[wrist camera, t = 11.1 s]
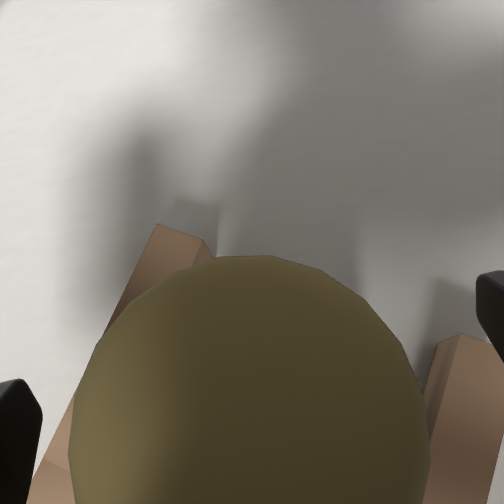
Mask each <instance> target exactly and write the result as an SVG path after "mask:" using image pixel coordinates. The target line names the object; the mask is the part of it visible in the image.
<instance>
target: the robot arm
mask: <svg viewBox="0 0 504 504" xmlns="http://www.w3.org/2000/svg"><path fill="white" fill-rule="evenodd" d="M476 315H477V318H478V321H479V323H480V325H481V326H482V328H483V330H484V331H485V333H486V335H487V336H488V338H489V340H490V342H491V343H492V345H493V347H494V348H495V350H496V352H497V353H498V355H499V357H500V358H501V360H502V362H503V363H504V271H501V270H498V271H493V272H489V273H484V274H480V275H479V276H478V277H477V279H476ZM42 420H43V414H42V410H41V407H40V405H39V403H38V402H37V400H36V398H35V397H34V395H33V393H32V391H31V390H30V388H29V386H28V384H27V383H26V382H25V381H24V380H23V379H14V380H9V381H5V382H1V383H0V504H26V502H27V499H28V495H29V490H30V486H31V481H32V475H33V470H34V464H35V459H36V454H37V448H38V443H39V437H40V432H41V426H42Z"/></svg>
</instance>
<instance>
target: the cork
mask: <svg viewBox="0 0 504 504" xmlns="http://www.w3.org/2000/svg"><path fill="white" fill-rule="evenodd" d="M67 455H68V461H69V467H70V473H71V479H72V485H73V492H74V498H75V504H422V503H423V498H424V494H425V489H426V484H427V479H428V475H429V470H430V465H431V458H430V448H429V438H428V428H427V418H426V408H425V399H424V397H423V394H422V392H421V389H420V387H419V385H418V382H417V380H416V377H415V375H414V373H413V370H412V368H411V365H410V363H409V361H408V358H407V356H406V353H405V351H404V349H403V346H402V344H401V343H400V341H399V340H398V339H397V338H396V337H395V335H394V334H393V333H392V332H391V331H390V329H389V328H388V327H387V326H386V324H385V323H384V322H383V321H382V320H381V318H380V317H379V316H378V315H377V314H376V312H375V311H374V310H373V309H372V307H371V306H370V305H369V304H368V303H367V301H366V300H365V299H363V298H362V297H360V296H359V295H357V294H356V293H354V292H353V291H351V290H350V289H348V288H347V287H345V286H344V285H342V284H341V283H339V282H337V281H336V280H334V279H333V278H331V277H330V276H328V275H327V274H325V273H324V272H322V271H321V270H318V269H315V268H311V267H308V266H304V265H301V264H298V263H294V262H291V261H287V260H284V259H280V258H277V257H274V256H229V257H218V258H215V259H212V260H209V261H206V262H203V263H200V264H196V265H193V266H190V267H187V268H184V269H181V270H178V271H175V272H172V273H171V274H169V275H168V276H167V277H165V278H164V279H162V280H161V281H159V282H158V283H157V284H155V285H154V286H152V287H151V288H149V289H148V290H147V291H145V292H144V293H142V294H141V295H139V296H138V297H137V298H135V299H134V300H132V301H131V302H130V303H129V304H128V305H127V306H126V308H125V309H124V310H123V311H122V313H121V314H120V315H119V316H118V318H117V319H116V320H115V321H114V323H113V324H112V325H111V326H110V328H109V329H108V330H107V331H106V333H105V334H104V335H103V336H102V338H101V339H100V340H99V341H98V343H97V344H96V346H95V349H94V351H93V353H92V356H91V358H90V360H89V363H88V365H87V368H86V370H85V372H84V375H83V377H82V379H81V382H80V384H79V387H78V389H77V391H76V394H75V397H74V405H73V413H72V421H71V429H70V437H69V446H68V454H67Z"/></svg>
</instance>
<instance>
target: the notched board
mask: <svg viewBox="0 0 504 504" xmlns="http://www.w3.org/2000/svg"><path fill="white" fill-rule="evenodd" d="M212 259H214V257H213V256H212V254H211V252H210V251H209V249H208V248H207V246H206V244H205V243H204V241H203V240H201V239H198V238H196V237H193V236H190V235H187V234H184V233H182V232H179V231H176V230H173V229H171V228H168V227H165V226H162V225H160V224H157V225H156V227H155V229H154V231H153V233H152V235H151V237H150V239H149V241H148V243H147V245H146V247H145V249H144V251H143V254H142V256H141V258H140V260H139V262H138V264H137V266H136V268H135V270H134V272H133V274H132V276H131V278H130V280H129V282H128V284H127V286H126V288H125V291H124V293H123V295H122V297H121V299H120V301H119V303H118V305H117V307H116V309H115V311H114V313H113V315H112V317H111V319H110V321H109V323H108V325H107V327H106V330H105V332H104V334H105V333H106V331H107V330H108V329H109V328H110V326H111V325H112V324H113V323H114V321H115V320H116V319H117V318H118V316H119V315H120V314H121V313H122V311H123V310H124V309H125V308H126V306H127V305H128V304H129V303H130V302H131V301H132V300H134V299H135V298H137V297H138V296H139V295H141V294H142V293H144V292H145V291H147V290H148V289H149V288H151V287H152V286H154V285H155V284H157V283H158V282H159V281H161V280H162V279H164V278H165V277H167V276H168V275H169V274H171V273H172V272H175V271H178V270H181V269H184V268H187V267H190V266H193V265H196V264H200V263H203V262H206V261H209V260H212ZM104 334H103V335H104ZM80 382H81V381H80ZM79 384H80V383H79ZM78 387H79V385H78ZM78 387H77V389H78ZM77 389H76V391H77ZM76 391H75V393H74V395H73V397H72V399H71V401H70V403H69V405H68V408H67V410H66V412H65V414H64V416H63V418H62V420H61V422H60V424H59V426H58V428H57V430H56V432H55V434H54V436H53V438H52V440H51V442H50V444H49V447H48V449H47V451H46V453H45V455H44V457H43V459H42V461H41V463H40V465H39V467H38V469H37V471H36V473H35V475H34V477H33V479H32V481H31V486H30V490H29V495H28V499H27V502H26V504H75V498H74V492H73V485H72V479H71V473H70V467H69V461H68V455H67V454H68V446H69V437H70V429H71V421H72V413H73V405H74V397H75V394H76ZM423 397H424V399H425V408H426V418H427V428H428V438H429V448H430V458H431V465H430V470H429V475H428V479H427V484H426V489H425V494H424V498H423V503H422V504H486V503H487V499H488V495H489V491H490V486H491V482H492V478H493V474H494V470H495V466H496V462H497V458H498V453H499V449H500V445H501V441H502V437H503V433H504V363H503V362H502V360H501V358H500V357H499V355H498V353H497V352H496V350H495V348H494V347H493V345H492V344H489V343H486V342H483V341H481V340H478V339H475V338H472V337H470V336H467V335H464V334H461V333H460V334H458V335H456V336H453V337H451V338H449V339H446V340H444V341H442V342H439V343H438V345H437V348H436V352H435V355H434V359H433V362H432V366H431V369H430V372H429V376H428V379H427V383H426V386H425V389H424V393H423Z"/></svg>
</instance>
